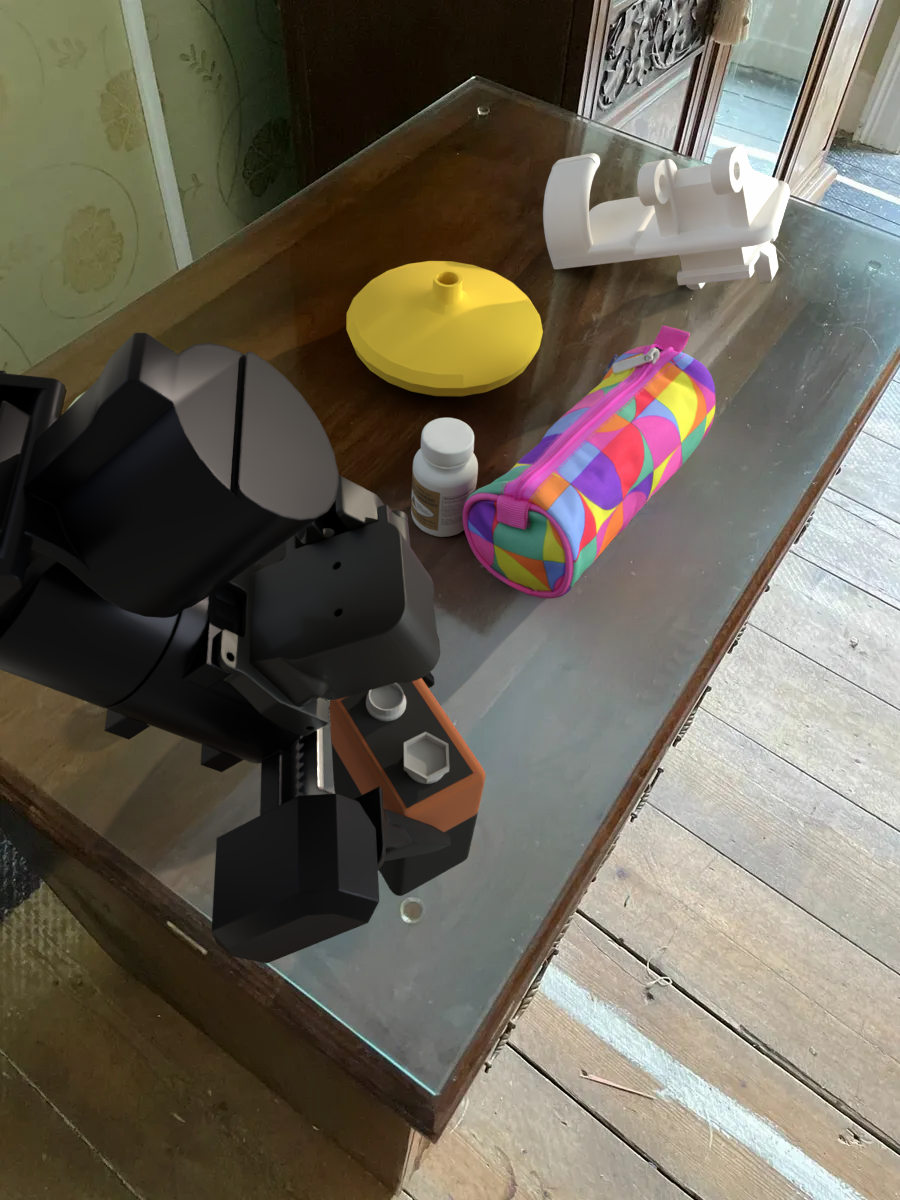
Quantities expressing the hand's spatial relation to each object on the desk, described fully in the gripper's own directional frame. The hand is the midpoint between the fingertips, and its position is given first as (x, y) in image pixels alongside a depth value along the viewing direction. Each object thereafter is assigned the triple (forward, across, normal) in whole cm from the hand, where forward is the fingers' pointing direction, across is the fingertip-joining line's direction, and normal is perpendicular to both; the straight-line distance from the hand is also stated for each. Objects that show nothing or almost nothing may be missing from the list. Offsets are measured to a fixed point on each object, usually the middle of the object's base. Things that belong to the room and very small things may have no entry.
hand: (434, 761), depth 43 cm
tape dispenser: (+26, +54, -9) cm, 61 cm away
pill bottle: (+11, +25, +6) cm, 28 cm away
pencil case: (+18, +26, -1) cm, 32 cm away
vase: (+12, +43, +5) cm, 45 cm away
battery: (+4, 0, +6) cm, 7 cm away
